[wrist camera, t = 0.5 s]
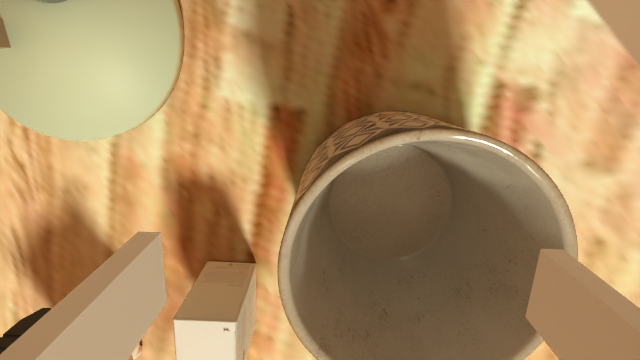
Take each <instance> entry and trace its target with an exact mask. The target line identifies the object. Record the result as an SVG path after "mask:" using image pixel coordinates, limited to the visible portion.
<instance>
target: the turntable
mask: <svg viewBox="0 0 640 360" xmlns="http://www.w3.org/2000/svg"><path fill="white" fill-rule="evenodd" d="M183 56H184V26H183V19H182V15H181V10H180V6H179V3H178V0H67V1H64V2H60V3H43V2H39V1H35V0H0V110H2V111H3V112H4V113H5V114H7V115H8V116H9V117H11V118H12V119H14V120H16V121H17V122H19V123H20V124H22V125H24V126H26V127H28V128H30V129H32V130H34V131H36V132H39V133H42V134H44V135H47V136H50V137H54V138H59V139H63V140H72V141H92V140H99V139H105V138H108V137H111V136H115V135H118V134H121V133H124V132H128V131H130V130H132V129H134V128H136V127H138V126H140V125H141V124H143V123H144V122H146V121H147V120H149V119H150V118H151V117H152V116H153V115H154V114H156V113H157V112H158V111H159V110H160V108H161V107H162V106H163V105H164V104H165V102H166V101H167V100H168V98H169V96H170V95H171V93H172V91H173V90H174V87H175V85H176V83H177V80H178V78H179V75H180V71H181V67H182V63H183Z"/></svg>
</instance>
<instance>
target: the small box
mask: <svg viewBox="0 0 640 360" xmlns="http://www.w3.org/2000/svg"><path fill="white" fill-rule="evenodd" d="M173 324H174V339H175V354H176V360H246V358H247V354H248V351H249V347H250V343H251V339H252V335H253V331H254V328H255V324H256V263H239V262H218V261H207V263H206V264H205V266H204V268H203V269H202V271H201V273H200V275H199V276H198V278H197V280H196V281H195V283H194V285H193V286H192V288H191V290H190V291H189V293H188V295H187V297H186V298H185V300H184V302H183V303H182V305H181V307H180V309H179V310H178V312H177V313H176V315H175V317H174V318H173Z"/></svg>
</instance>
